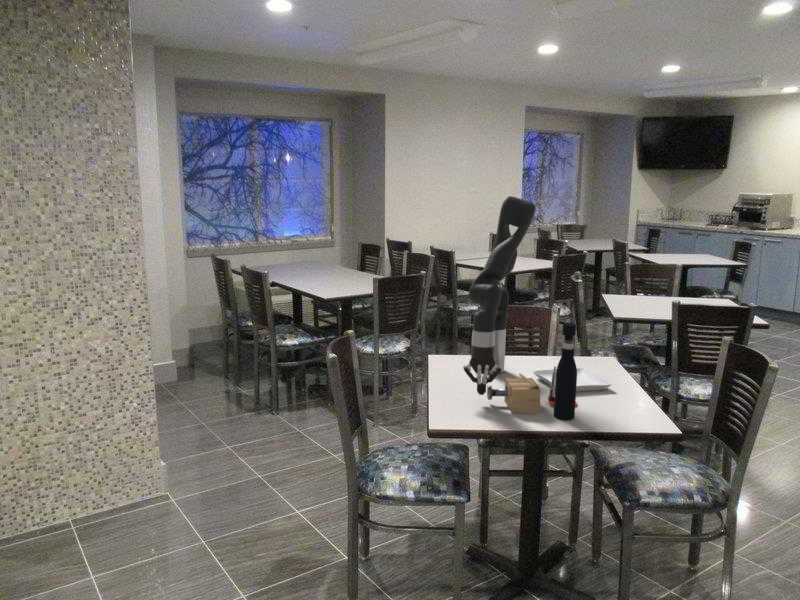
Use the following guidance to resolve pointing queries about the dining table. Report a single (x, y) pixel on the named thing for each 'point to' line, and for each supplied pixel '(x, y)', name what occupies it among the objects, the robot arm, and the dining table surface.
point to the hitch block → (522, 396)
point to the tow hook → (552, 390)
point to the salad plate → (578, 379)
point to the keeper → (527, 379)
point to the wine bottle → (566, 377)
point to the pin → (496, 392)
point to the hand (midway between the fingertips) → (481, 394)
